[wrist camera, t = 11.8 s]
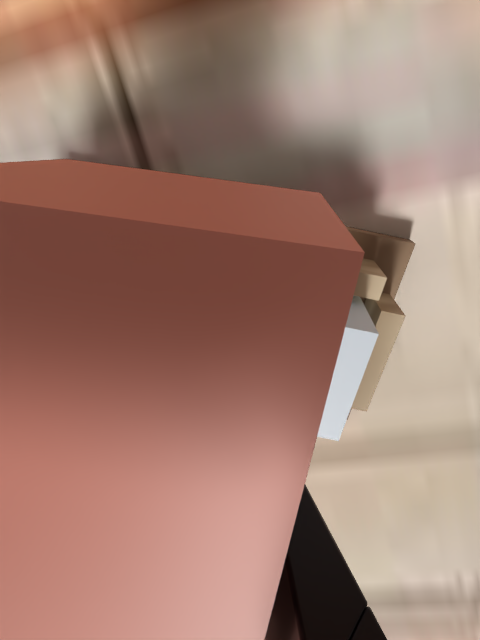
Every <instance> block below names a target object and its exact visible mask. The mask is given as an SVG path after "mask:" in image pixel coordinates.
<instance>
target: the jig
mask: <svg viewBox="0 0 480 640" xmlns="http://www.w3.org/2000/svg"><path fill="white" fill-rule="evenodd" d="M345 227H346V226H345ZM346 228H347V229H348V231H349V232H350V233H351V235H352V236H353V237H354V239H355V240H356V241H357V243H358V244H359V245H360V247H361V248H362V249H363V251H364V252H365V253H364V257H363V261H362V265H361V269H360V272H359V276H358V280H357V284H356V288H355V292H354V296H359V297H360V298H361V300H362V302H363V304H364V306H365V308H366V310H367V312H368V314H369V316H370V317H371V319H372V321H373V323H374V325H375V327H376V329H377V331H378V333H379V335H378V337H377V340H376V343H375V345H374V348H373V351H372V353H371V356H370V359H369V361H368V364H367V367H366V369H365V372H364V375H363V377H362V380H361V383H360V385H359V388H358V391H357V393H356V396H355V399H354V401H353V404H352V407H351V409H357V410H362V411H367V409H368V406H369V404H370V401H371V399H372V397H373V394H374V392H375V389H376V387H377V384H378V382H379V379H380V377H381V375H382V372H383V370H384V367H385V365H386V362H387V360H388V357H389V355H390V352H391V350H392V348H393V345H394V343H395V340H396V338H397V335H398V333H399V330H400V328H401V326H402V323H403V321H404V318H405V315H404V313H403V312H402V310H401V309H400V308H399V306H398V305H397V303H396V302H395V301H394V298H395V295H396V293H397V290H398V288H399V285H400V282H401V280H402V277H403V275H404V272H405V269H406V267H407V264H408V262H409V259H410V256H411V254H412V251H413V249H414V246H415V243H414V242H412V241H411V240H409V239H404V238H399V237H394V236H389V235H385V234H380V233H375V232H370V231H365V230H360V229H356V228H351V227H346ZM351 409H350V412H351ZM350 412H349V414H350ZM348 417H349V415H348ZM348 417H347V420H348Z"/></svg>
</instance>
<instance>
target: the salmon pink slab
mask: <svg viewBox="0 0 480 640" xmlns="http://www.w3.org/2000/svg"><path fill="white" fill-rule="evenodd" d="M364 253H365V252H364V251H363V249H362V248H361V247H360V245H359V244H358V243H357V241H356V240H355V239H354V237H353V236H352V235H351V233H350V232H349V231H348V229H347V228H346V227H345V225H344V224H343V223H342V221H341V220H340V219H339V217H338V216H337V215H336V213H335V212H334V211H333V209H332V208H331V207H330V205H329V204H328V202H327V201H326V200H325V198H324V197H323V196H322V194H321V193H318V192H310V191H303V190H295V189H288V188H280V187H273V186H265V185H258V184H250V183H243V182H235V181H228V180H220V179H213V178H205V177H198V176H190V175H183V174H175V173H168V172H160V171H153V170H145V169H138V168H130V167H123V166H115V165H108V164H100V163H93V162H85V161H78V160H70V159H57V160H40V161H24V162H7V163H0V640H264V639H265V636H266V632H267V628H268V624H269V620H270V616H271V612H272V609H273V605H274V601H275V597H276V593H277V589H278V585H279V582H280V578H281V574H282V570H283V566H284V562H285V558H286V554H287V551H288V547H289V543H290V539H291V535H292V531H293V527H294V524H295V520H296V516H297V512H298V508H299V504H300V500H301V497H302V493H303V489H304V485H305V481H306V477H307V473H308V469H309V466H310V462H311V458H312V454H313V450H314V446H315V442H316V439H317V435H318V431H319V427H320V423H321V419H322V415H323V412H324V408H325V404H326V400H327V396H328V392H329V388H330V384H331V381H332V377H333V373H334V369H335V365H336V361H337V357H338V354H339V350H340V346H341V342H342V338H343V334H344V330H345V327H346V323H347V319H348V315H349V311H350V307H351V303H352V299H353V296H354V292H355V288H356V284H357V280H358V276H359V272H360V269H361V265H362V261H363V257H364Z"/></svg>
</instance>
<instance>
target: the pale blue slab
mask: <svg viewBox="0 0 480 640" xmlns="http://www.w3.org/2000/svg"><path fill="white" fill-rule="evenodd" d="M378 335H379V333H378V331H377V329H376V327H375V325H374V323H373V321H372V319H371V317H370V316H369V314H368V312H367V310H366V308H365V306H364V304H363V302H362V300H361V298H360V297H359V296H353V299H352V303H351V307H350V311H349V315H348V319H347V323H346V327H345V330H344V334H343V338H342V342H341V346H340V350H339V354H338V357H337V361H336V365H335V369H334V373H333V377H332V381H331V384H330V388H329V392H328V396H327V400H326V404H325V408H324V412H323V415H322V419H321V423H320V427H319V431H318V435H317V437H322V438H327V439H331V440H336V441H339V439H340V436H341V433H342V431H343V428H344V425H345V423H346V420H347V417H348V415H349V412H350V409H351V407H352V404H353V401H354V399H355V396H356V393H357V391H358V388H359V385H360V383H361V380H362V377H363V375H364V372H365V369H366V367H367V364H368V361H369V359H370V356H371V353H372V351H373V348H374V345H375V343H376V340H377V337H378Z"/></svg>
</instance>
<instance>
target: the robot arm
mask: <svg viewBox="0 0 480 640" xmlns="http://www.w3.org/2000/svg"><path fill="white" fill-rule="evenodd" d="M264 640H387V638H386V637H385V635H384V633H383V631H382V629H381V627H380V626H379V624H378V622H377V620H376V618H375V616H374V614H373V612H372V610H371V608H370V607H367V601H366V599H365V597H364V595H363V593H362V592H361V590H360V588H359V586H358V584H357V582H356V580H355V578H354V576H353V574H352V573H351V571H350V569H349V567H348V565H347V563H346V561H345V559H344V557H343V555H342V554H341V552H340V550H339V548H338V546H337V544H336V542H335V540H334V538H333V536H332V535H331V533H330V531H329V529H328V527H327V525H326V523H325V521H324V519H323V517H322V516H321V514H320V512H319V510H318V508H317V506H316V504H315V502H314V500H313V498H312V497H311V495H310V493H309V491H308V489H307V487H306V485H304V489H303V493H302V497H301V500H300V504H299V508H298V512H297V516H296V520H295V524H294V527H293V531H292V535H291V539H290V543H289V547H288V551H287V554H286V558H285V562H284V566H283V570H282V574H281V578H280V582H279V585H278V589H277V593H276V597H275V601H274V605H273V609H272V612H271V616H270V620H269V624H268V628H267V632H266V636H265V639H264Z"/></svg>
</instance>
